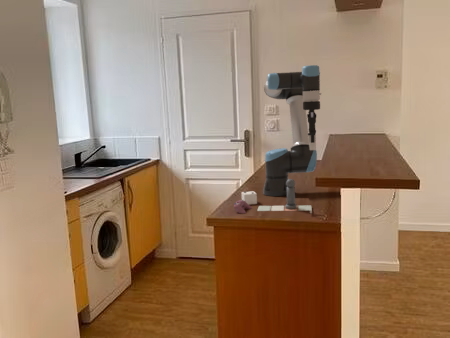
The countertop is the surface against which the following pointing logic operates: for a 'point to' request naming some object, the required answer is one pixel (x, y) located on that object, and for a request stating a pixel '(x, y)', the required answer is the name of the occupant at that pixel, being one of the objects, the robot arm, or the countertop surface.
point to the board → (281, 208)
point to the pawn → (290, 194)
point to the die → (249, 197)
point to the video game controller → (241, 206)
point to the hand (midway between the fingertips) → (312, 148)
